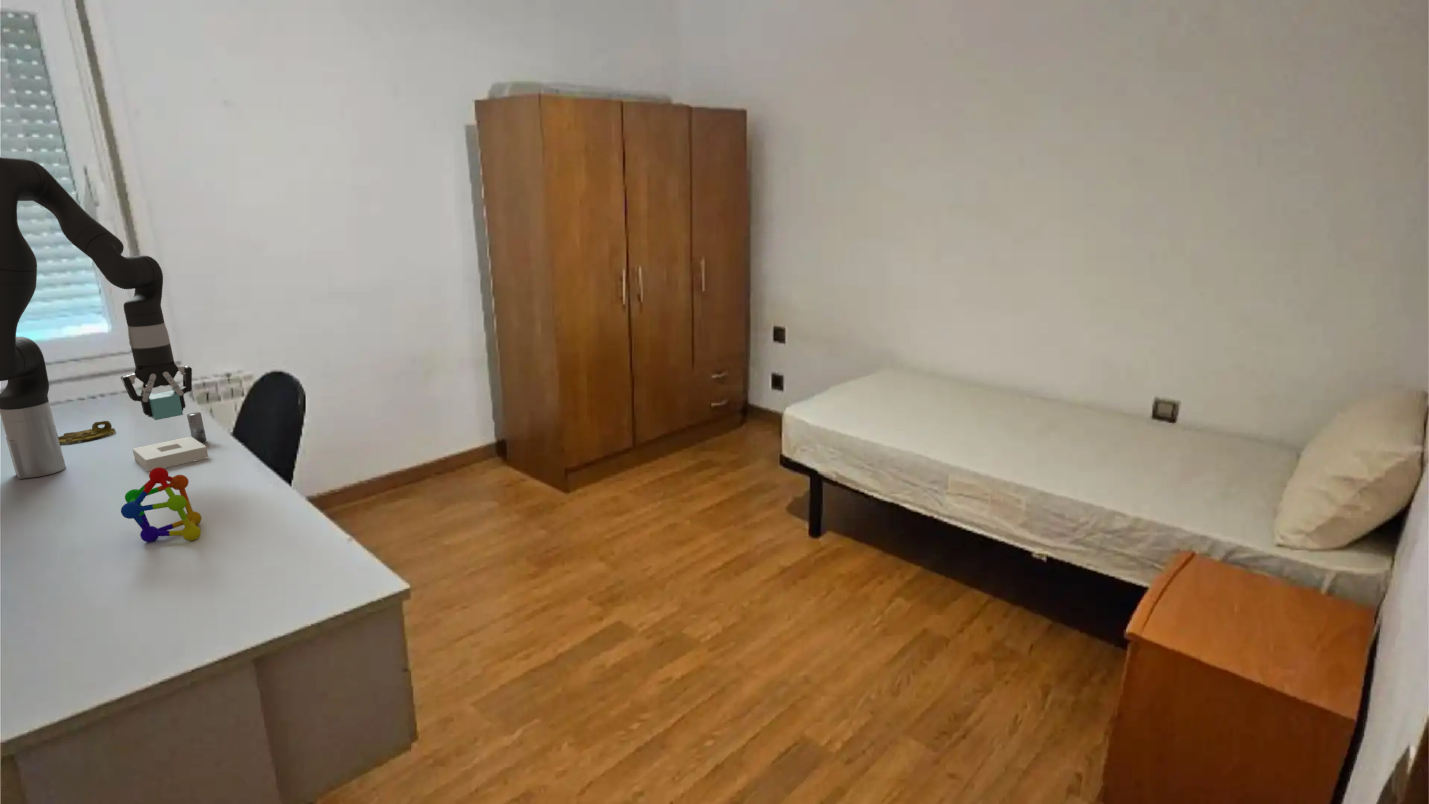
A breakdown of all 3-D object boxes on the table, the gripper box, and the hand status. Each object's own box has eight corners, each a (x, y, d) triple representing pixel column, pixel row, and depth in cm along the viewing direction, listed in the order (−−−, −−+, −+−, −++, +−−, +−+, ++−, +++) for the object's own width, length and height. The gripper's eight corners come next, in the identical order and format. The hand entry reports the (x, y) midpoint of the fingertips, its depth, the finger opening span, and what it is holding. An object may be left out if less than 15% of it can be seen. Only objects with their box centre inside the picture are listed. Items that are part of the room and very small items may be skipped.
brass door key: (51, 453, 210) (119, 439, 220) (46, 437, 209) (115, 424, 219) (46, 442, 217) (113, 429, 227) (42, 426, 215) (109, 414, 225)
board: (148, 471, 192) (145, 460, 191) (135, 459, 200) (132, 448, 199) (208, 457, 201) (206, 446, 200) (193, 447, 209) (191, 436, 208)
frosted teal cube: (155, 420, 182) (150, 399, 181) (149, 415, 186) (144, 395, 184) (183, 414, 186) (178, 394, 185) (176, 410, 190) (172, 390, 188)
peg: (194, 444, 211) (188, 416, 209) (191, 442, 213) (185, 414, 211) (208, 441, 213) (202, 413, 211) (204, 439, 216) (198, 411, 213)
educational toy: (125, 542, 156) (107, 470, 153) (200, 523, 164) (185, 454, 161) (134, 561, 144) (116, 484, 141) (215, 540, 153) (199, 466, 150)
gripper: (116, 350, 174) (133, 423, 178) (190, 340, 184) (205, 409, 188) (108, 346, 179) (125, 417, 183) (181, 336, 189) (195, 404, 193)
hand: (165, 413), depth 186 cm, fingers closed on frosted teal cube, 5 cm apart
